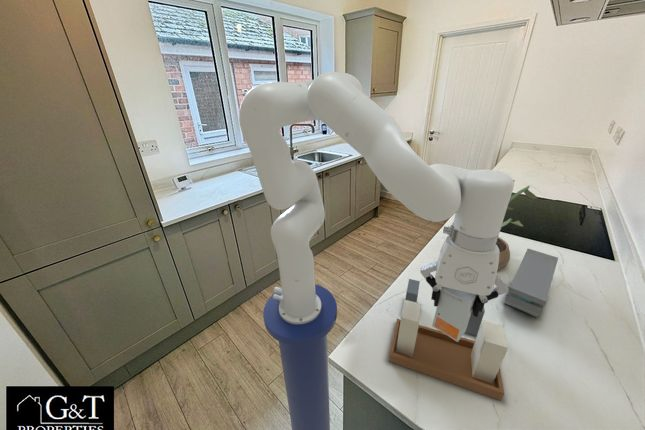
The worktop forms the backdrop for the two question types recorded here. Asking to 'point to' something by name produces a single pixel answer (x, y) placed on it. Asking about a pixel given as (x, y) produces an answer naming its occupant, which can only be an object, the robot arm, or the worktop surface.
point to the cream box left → (408, 327)
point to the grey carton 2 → (474, 323)
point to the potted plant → (502, 245)
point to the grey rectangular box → (532, 282)
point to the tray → (444, 360)
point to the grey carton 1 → (412, 290)
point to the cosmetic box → (453, 312)
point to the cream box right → (488, 351)
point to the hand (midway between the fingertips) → (454, 306)
